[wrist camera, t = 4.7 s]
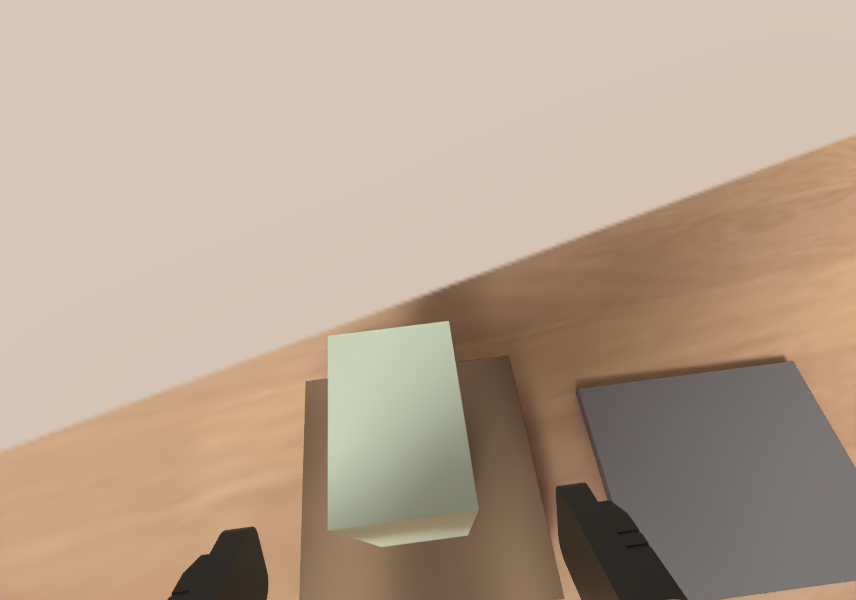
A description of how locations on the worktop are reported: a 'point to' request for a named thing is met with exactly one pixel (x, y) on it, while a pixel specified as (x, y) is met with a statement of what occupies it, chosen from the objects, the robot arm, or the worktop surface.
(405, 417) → the pale green rectangular block
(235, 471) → the worktop surface
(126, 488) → the worktop surface
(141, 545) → the worktop surface
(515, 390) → the brown rectangular box
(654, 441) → the mat
